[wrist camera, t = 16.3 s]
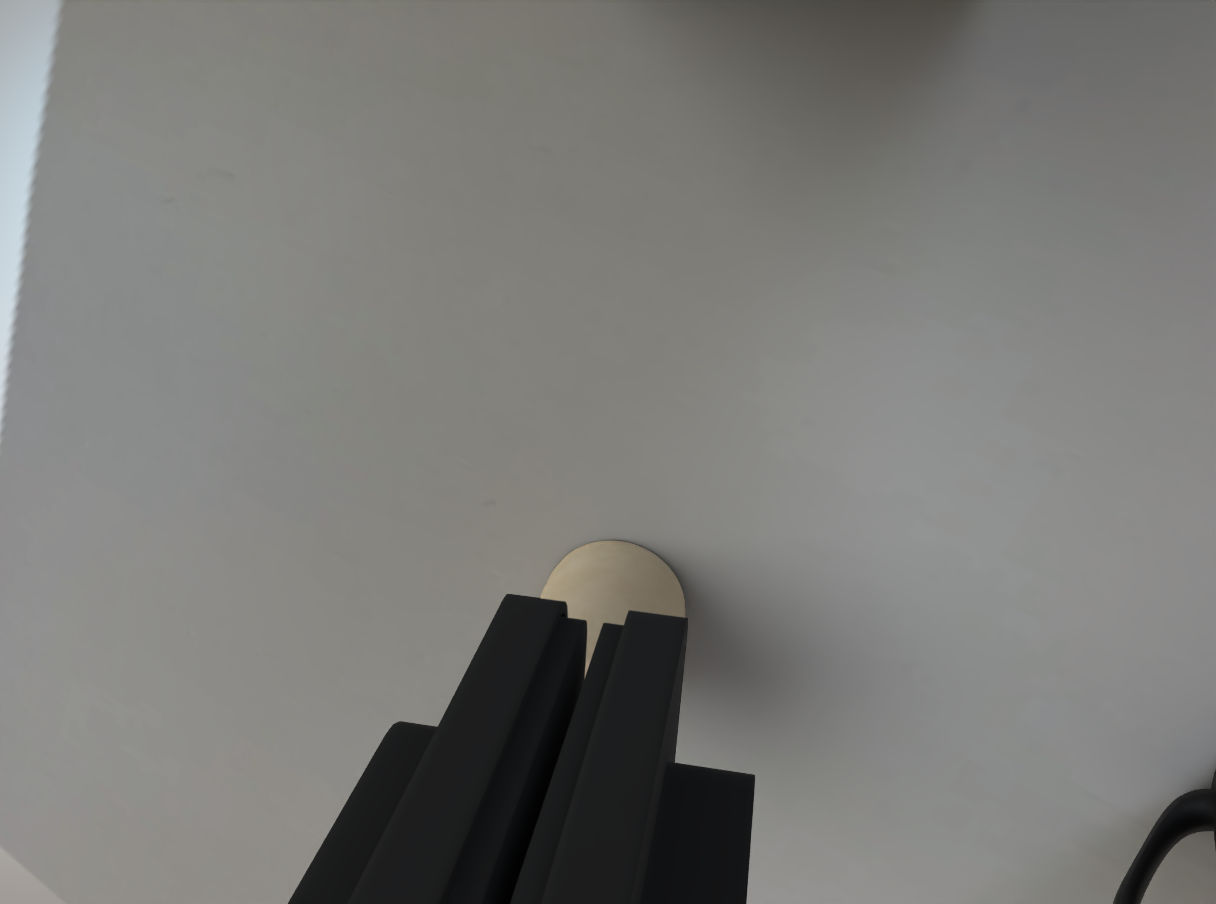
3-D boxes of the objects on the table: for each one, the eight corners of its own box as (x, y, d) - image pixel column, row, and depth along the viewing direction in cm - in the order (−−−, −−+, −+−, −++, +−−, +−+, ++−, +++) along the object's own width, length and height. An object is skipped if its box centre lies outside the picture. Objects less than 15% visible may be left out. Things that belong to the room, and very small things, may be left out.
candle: (533, 544, 44) (460, 692, 35) (674, 531, 43) (637, 680, 34) (561, 668, 46) (498, 838, 37) (697, 658, 45) (667, 831, 35)
